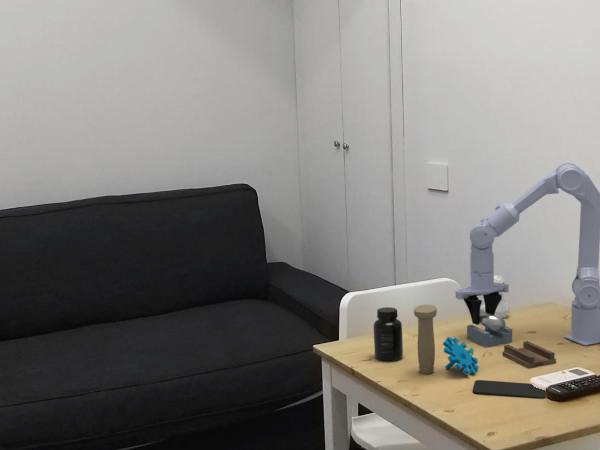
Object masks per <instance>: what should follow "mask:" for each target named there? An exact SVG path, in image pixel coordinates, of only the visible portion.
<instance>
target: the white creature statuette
mask: <svg viewBox="0 0 600 450" xmlns="http://www.w3.org/2000/svg"><path fill="white" fill-rule="evenodd" d="M502 283H505V280H504V277H503V276H502V275H498V274H494V284H502ZM499 294H500V295H502V299H501V301H500V302H499V304H498V306H497V309H496V311H495V315H494V316H497V317H499V318H501V319H503V320H504V318H506V317H507V316H509V313H510V306H509V304H508V303H507V301H506V300H505V297H504V292H500V293H499ZM480 310H483V311H485V304H483V305H482V304H481V307H480Z"/></svg>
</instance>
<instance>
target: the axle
mask: <svg viewBox="0 0 600 450" xmlns="http://www.w3.org/2000/svg"><path fill="white" fill-rule="evenodd" d="M470 318H471V317H470ZM471 320H472V318H471ZM479 325H480V326H484V328H485V327H487V328H489V329H492V330H494V331H496V332H502V331H503V330H504V329H505V326H506V325H507V324H506V321H505V319H504V318H503V319H501V318H499V317H497V316H494V315H492V314H490V313H487V312H485V311H483V310H480V322H479Z"/></svg>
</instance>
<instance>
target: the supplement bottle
mask: <svg viewBox="0 0 600 450" xmlns="http://www.w3.org/2000/svg"><path fill="white" fill-rule="evenodd" d="M398 315H399V314H398V309H397V308H395V307H391V306H390V307H389V306H388V307H387V306H385V307H379V308H377V311H376V318H377V319H376V320H375V322H373V340H374V341H373V345H374V348H373V349H374V357H375V359H376V360H378V361H380V362H397V361H399V360H401V359H402V358H403V356H404V348H403V347H404V345H403V344H404V343H403V341H404V340H403V325H402V322H401V320H400V319H398Z"/></svg>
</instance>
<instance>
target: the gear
mask: <svg viewBox="0 0 600 450" xmlns="http://www.w3.org/2000/svg"><path fill="white" fill-rule="evenodd" d="M459 342H460V340H459V338H458V337H454V338H452V336H451V337H450V336H448V337H447V338H446V339H445V340H444V341H443V342H442V345H443V346H444V348H443V353H445V354H446V355H448V357H447V360H448V361H449V362H448V363H447V364H446V365H445V369H446V370H450V369H451V368H452V367H455V369H456V370H458V371H460V369H462V368H464V369H463V370H462V373H463V374H465V375H467V376H468V375H469V374H470V375H472V376H473V375H474V376H475V374H476V373H477V371H478V370H479V369H480V367H479V365H477V364H478V362H479V361H478V358H476V357H474V356H473V355H474V352H475V349H474V348H473V347H470V348H469V349H466V348H467V344H466V342H465V341H462V342H461V343H460V344H459Z"/></svg>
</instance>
